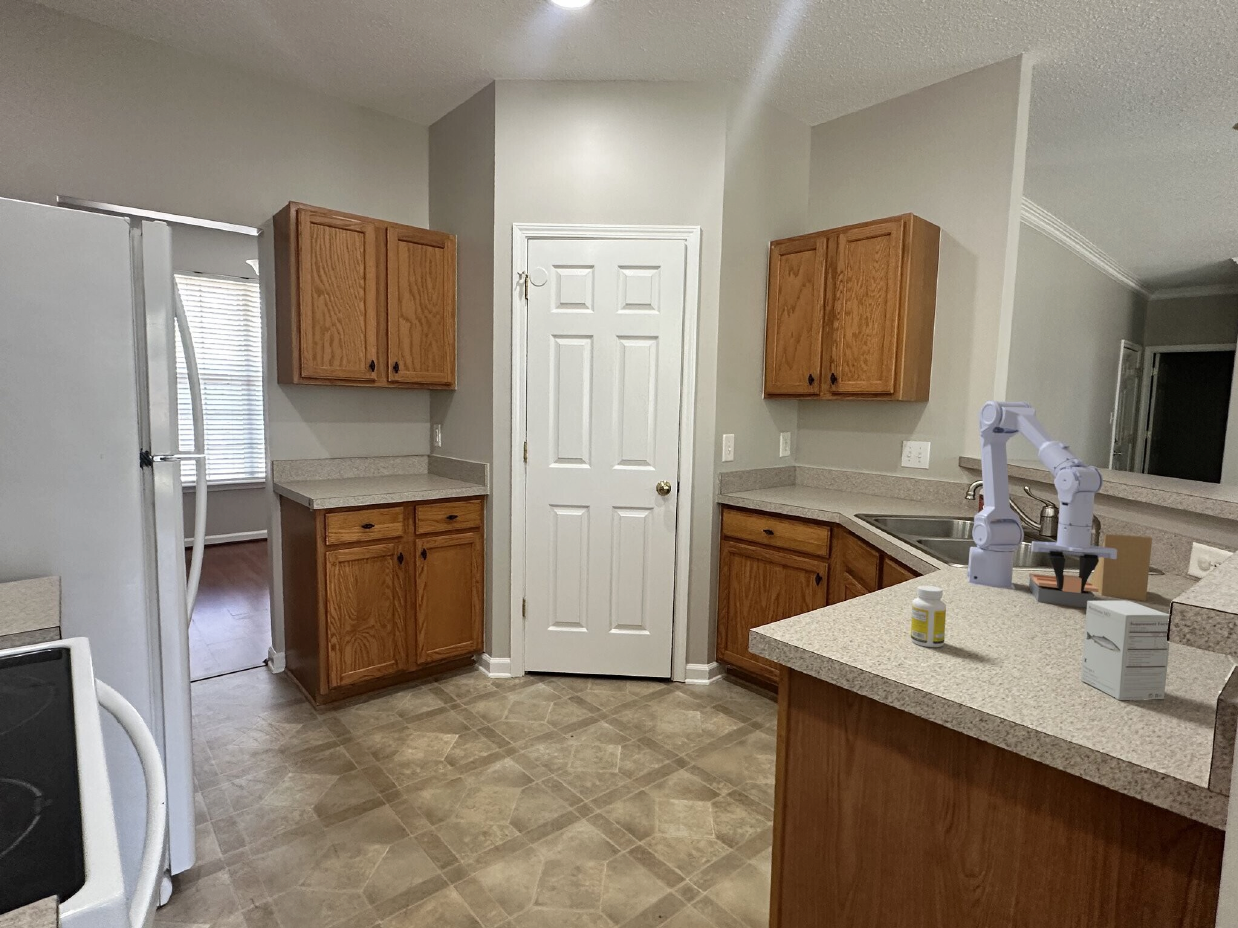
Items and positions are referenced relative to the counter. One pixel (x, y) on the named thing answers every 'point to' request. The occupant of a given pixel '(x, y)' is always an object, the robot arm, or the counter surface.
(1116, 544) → the sandwich container
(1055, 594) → the tub
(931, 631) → the supplement bottle
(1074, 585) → the lid
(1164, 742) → the counter surface
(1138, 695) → the supplement box
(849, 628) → the counter surface
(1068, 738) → the counter surface
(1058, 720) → the counter surface
